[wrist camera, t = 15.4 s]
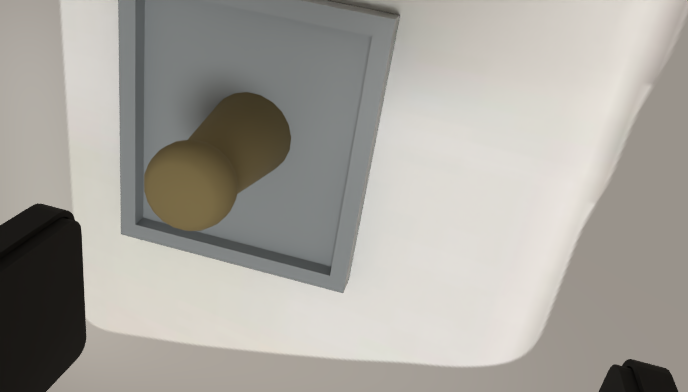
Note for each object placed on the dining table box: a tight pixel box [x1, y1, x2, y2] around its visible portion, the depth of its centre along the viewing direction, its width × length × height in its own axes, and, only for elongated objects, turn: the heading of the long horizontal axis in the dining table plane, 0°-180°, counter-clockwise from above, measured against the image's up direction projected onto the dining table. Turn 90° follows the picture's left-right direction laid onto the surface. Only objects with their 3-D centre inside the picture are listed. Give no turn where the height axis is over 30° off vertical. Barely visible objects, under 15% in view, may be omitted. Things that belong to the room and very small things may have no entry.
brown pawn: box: [144, 92, 291, 231], centre depth 37 cm, size 6×6×11 cm
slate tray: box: [118, 0, 400, 293], centre depth 42 cm, size 20×18×2 cm
